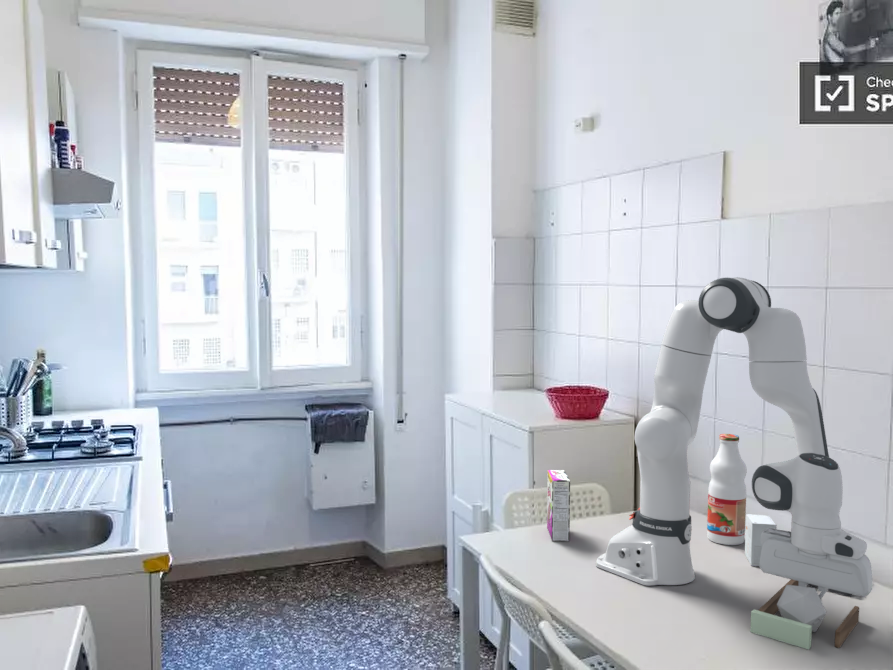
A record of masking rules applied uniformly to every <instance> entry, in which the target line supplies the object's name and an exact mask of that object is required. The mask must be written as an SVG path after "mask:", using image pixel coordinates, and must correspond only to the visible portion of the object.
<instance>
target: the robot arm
mask: <svg viewBox="0 0 893 670" xmlns="http://www.w3.org/2000/svg"><path fill="white" fill-rule="evenodd" d="M724 330H726V331H730V332H733V333H737V334H743V335H744V336H745V338H746V340H747V344H748V361H749V362H748V371H749V372H748V373H749V380H750V384H751V385H750V386H751V388H752V390H753V391H754V392H755V393H756V394H757V396H759V398H761V399H762V400H764V401H765V402H767V403H768V404H771V405H773V406H776V407H778V408H780V409H782V410H783V411H784V412H785V413H786V414H788V416H789V418H790V420H791V422H792V428H793V433H794V439H795V446H796V447H795V448H796V454H797V455H796V457H793V458H791V459H788V460H784V461H780V462H779V461H778V462H771V463H766V464H764V465H760V466H758V467H757V468H756V469H755V471H754V473H753V474H752V478H751V491H752V494H753V496H754V498H755V499H756V501H757V502H758V503H759V504H760V505H761V506H762V507H763V508H765V509H768V510H772V511H786V512H789V513H790V514H791V522H790V525H791V529H790V530H784V529H778V528H776V529H775V528H769V529H766V530H764V531H762V533H761V544H762V546H763V547H762V551H761V556H760V564H759V566H758V567H759V568H760V571H761V572H762V573H764V574H768V575H771V576H772V575H773V576H777V577H780V578H785V579H789V580H791V579H792V580H796V581H799V584H798V586H802V587H809V586H808V584H812V585H816V586H818V588H817V591H818V592H820V593H818V595H819V597H820V599H821V601H822V602H823V597H824V596H825V595H826V594H827V592H829V591H828V588H829V589H833V590H837V591H841V592H845V593H849V594H853V595H854V596H857V597H858V596H859V597H863V598H866V597H867V596H868V595H869V594H871V593H872V591H873V570H872V568H873V567H872V563H871V561H870V558H869V557H868V556H867V555H866V552H867V551H868V543H867V542H866V540H864V539H861V538H859V537H858V536H855V535H853V534H851V533H850V532H847V531H845V530H843V528H842V522H841V518H840V512H841V509H842V505H843V476H842V471H841V468H840V467H841V466H840V465H839V463H838V462H837V461H836V460H834V458H831V457H830V455H829V450H828V443H827V435H826V430H825V424H824V418H823V417H824V416H823V410H822V406H821V401H820V398H819V395H818V392H817V391H816V390H815V388H814V387H813V386H812V383H811V380H810V377H809V372H808V363H807V362H808V360H807V359H808V358H807V347H806V346H807V345H806V338H805V334H804V328H803V325H802V321H801V318H800V316H799V315H798V314H797V313H796V312H794V311H793V310H790V309H787V308H784V307H772V298H771V296H770V294H769V291H768V290H767V288H766V287H764V286H763V285H762V284H761V283H760V282H758V281H754V280H751V279H747V278H746V277H745V278H744V277H738V276H737V277H721V278H720V277H719V278H717V279H714V280H712V281H710V282H709V283H707V285H706V286H704V288H703V289H702V290H701V292H700V295H699V297H698V300H695V299H689V300H683V301H681V302H679V303H678V304H676V305H675V306H674V308H673V310H672V312H671V314H670V317H669V320H668V322H667V325H666V327H665V330H664V333H663V337H662V341H661V344H660V349H659V353H658V358H657V362H656V366H655V371H654V374H653V381H654V383H653V384H654V385H653V396H652V404H651V409H650V412H648V413H647V414H645V415H643V416H642V417H641V419H640V420H639V421H638V423H637V426H636V427H635V431H634V442H635V447H636V452H637V453H636V454H637V461H638V466H639V474H640V475H639V476H640V477H639V479H640V489H639V491H640V492H639V493H640V494H639V498H640V499H639V507H638V508H637V510H634V511H633V513H631V514H629V521H631V520H632V523H631V525H628V527H627V526H626V528H624V529H623V530H621V531H619V532H618V533H615V534H614V535H613V536H612V537H611V538H610V539H609V541H608V544H607V546H606V551H605V552H604V553H603V554H600V555H599V556H598V557H597V559H596V561H595V562H596V563H595V566H596V567H597V568H598V569H601V570H604V571H606V572H610V573H612V574H614V575H617V576H620V577H623V578H625V579H627V580H629V581H633V582H636V583H638V584H640V585H643V586H647V587H649V586H658V585H661V586H663V585H664V586H677V585H678V586H679V585H685V584H688V583H691V582H693V581H694V580H695V579H696V575H695V570H694V567H693V563H692V561H693V560H692V554H691V548H690V547H691V543H690V541H691V540H692V539H691V538H692V530H693V529H692V516H691V514H690V513H691V512H690V505H691V479H690V475H689V465H688V464H689V463H688V448H689V446H690V445H691V443H693V441H694V440H695V438H696V436H697V431H698V426H699V421H700V416H701V410H702V409H701V408H702V404H703V393H704V389H705V384H706V380H707V376H708V372H709V371H708V370H709V367H710V363H711V358H712V355H713V350H714V345H715V343H716V339H717V337H718V336H719V334H720V333H721V331H724ZM766 531H768V532H766ZM853 595H852V596H853Z"/></svg>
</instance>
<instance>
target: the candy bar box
mask: <svg viewBox="0 0 893 670" xmlns="http://www.w3.org/2000/svg"><path fill="white" fill-rule="evenodd" d="M546 475H547V483H546V484H547V485H546V486H547V488H546V489H547V492H546V494H547V496H546V497H547V498H546V499H547V500H546V501H547V503H546V506H547V507H546V512H547V513H546V529H547V531H548V533H549V537H550V539H551V541H552V542H570V527H571V526H570V524H571V521H570V520H571V519H570V518H571V516H570V513H571V480H570V478H569V476H568V474H567V472H566V471H565V470H564V469H547V474H546Z"/></svg>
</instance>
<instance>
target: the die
mask: <svg viewBox="0 0 893 670" xmlns="http://www.w3.org/2000/svg"><path fill="white" fill-rule="evenodd" d="M817 591H818V590H817V588H814V587H810V586H807V587H802V586H794V585H786V587H785V589H784V591H783V593H782V595H781V597H780V599H779V601H778V603H777V606H778V609H779V611H778V612H779V613H780V617H783V618H786V619H790V620H793V621H797V622H801V623H804V624H808V625H811V626H812V633H817V632H818V631H817V630H818V629H819V627H820V626H821V624H822V622H823V620H824V618H825V617H826V614H827V610H826V608H825V606H824V604H823V600H822V601H821V599H820V597H819V593H818V592H817Z"/></svg>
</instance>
